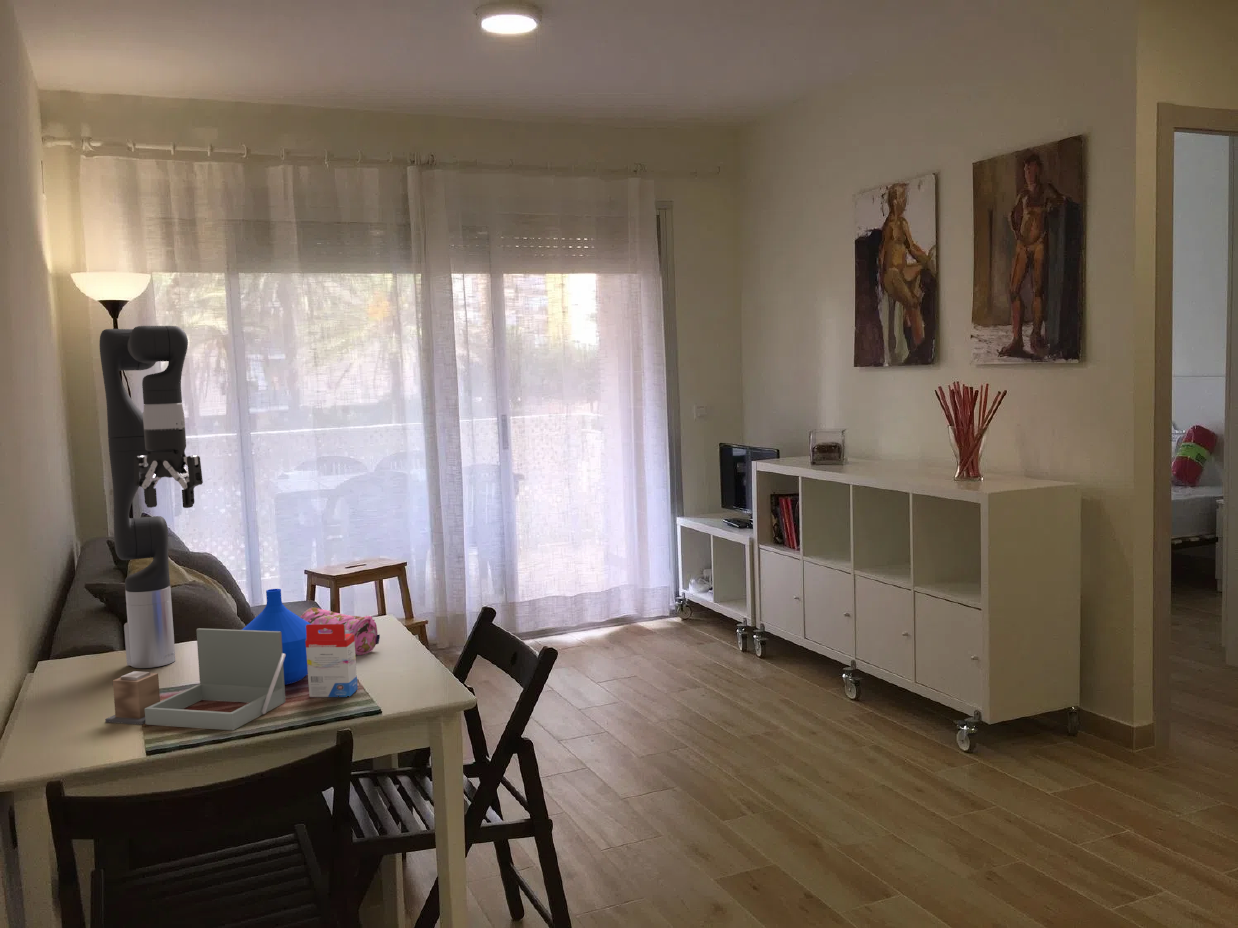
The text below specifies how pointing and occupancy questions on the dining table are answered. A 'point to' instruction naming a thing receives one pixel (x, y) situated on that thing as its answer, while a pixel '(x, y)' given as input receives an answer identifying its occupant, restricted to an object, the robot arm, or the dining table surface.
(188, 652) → the dining table surface
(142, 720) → the mat
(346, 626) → the pencil case
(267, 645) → the case
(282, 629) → the blue funnel
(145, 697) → the module
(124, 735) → the dining table surface
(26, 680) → the dining table surface
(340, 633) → the ink box
